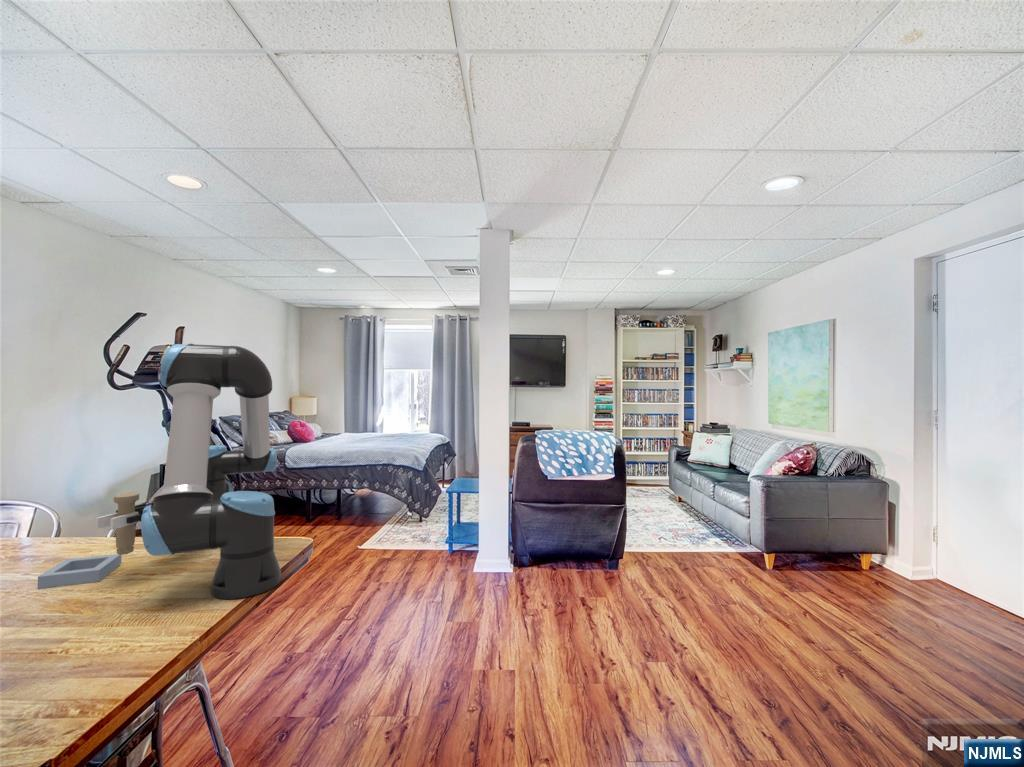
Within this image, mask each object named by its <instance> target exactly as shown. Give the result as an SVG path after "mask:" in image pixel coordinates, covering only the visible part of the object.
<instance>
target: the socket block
mask: <svg viewBox="0 0 1024 767" xmlns="http://www.w3.org/2000/svg"><path fill="white" fill-rule="evenodd" d="M120 564H121V565H122V555H120V554H117V553H116V554H107V555H98V556H87V557H79V558H78V557H77V558H68V559H66V558H65V560H63V561H62V562H60V563H58V564H56V565H55V566H53V567H52V568H50V569H48V570H47V571H45V572H43V573H42V574H40V575H38V576H37V590H42V589H47V588H49V589H50V588H56V587H57V588H59V587H65V586H66V585H67V586H74V585H83V584H91V583H97V582H98V583H99V582H101V581H102V580H103V579H104V578H106V577H107V576H109V575H110V574H111V573H112V572H114V571H115V570H116V569H117V568H119V567H120V566H121V565H120ZM119 565H120V566H119ZM118 566H119V567H118Z"/></svg>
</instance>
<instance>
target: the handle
mask: <svg viewBox="0 0 1024 767" xmlns="http://www.w3.org/2000/svg"><path fill="white" fill-rule="evenodd" d="M139 500H140V492H137V491H132V492H123V493H118V494H114V496H113V502H114V503H115V504H117V510H118V514H117V517H118V516H122V515H126V514H130V513H134V512H135V505H136V502H137V501H139ZM136 527H137V526H136V523H134V524H131V525H128V526H124V527H121V528H117V529H115V546H116V554H120V555H121V556H123V555H128V554H130V553H133V552H134V551H135V550H134V549H135V546H134V545H135V542H136V534H137V533H136V531H137V530H136Z"/></svg>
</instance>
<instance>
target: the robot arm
mask: <svg viewBox="0 0 1024 767" xmlns="http://www.w3.org/2000/svg"><path fill="white" fill-rule="evenodd" d="M159 378H160V379H159V380H160V383H161V385H162V386H163V387H165V388H166V393H168V394H169V395H170V396H171V397H172V398H173V400H172V401H173V402H172V407H171V408H172V409H171V418H170V426H169V434H168V435H169V436H168V444H167V453H166V461H165V470H164V479H163V487H162V489H161V491H159V492H158V493H157V494H155V496H154V497H153V502H150V503H149V501H145V502H142V503H139V504H135V512H134V513H130V514H126V515H122V516H118V517H117V514H118V509H117V510H115V512H114V513H109V514H106V515H102V516H97V517H95V520H94V529H95V530H100V529H104V528H107V527H109V529H110V531H113V530H116V529H117V528H121V527H124V526H128V525H131V524H134V523H135V524H136V523H139V522H140V529H141V538H142V543H143V547H144V548H145V550H146V552H147V553H148V554H149V555H151V556H155V557H156V556H157V557H158V556H159V557H160V556H169V555H171V556H175V555H176V554H184V553H194V552H200V551H202V552H203V551H206V550H214V549H215V550H216V549H219V562H218V564H217V566H216V570H215V572H214V574H213V578H212V580H211V583H210V594H211V595H212V597H214V598H216V599H221V600H222V599H224V600H233V599H234V600H235V599H236V600H237V599H243V598H248V597H252V596H253V597H254V596H256V595H260V594H262V593H265V592H267V591H269V590H271V589H273V588H275V587H276V586H277V585H278V584H280V582H281V580H282V570H281V567H280V565H279V561H278V559H277V556H276V554H275V553H276V552H275V549H274V548H275V546H274V544H275V543H274V542H275V540H274V539H275V535H274V534H275V515H276V511H275V502H274V501H275V500H274V498H273V496H272V495H270V494H268V493H265V492H262V491H255V490H254V491H253V490H235V489H234V487H233V484H232V483H231V482H230V481H229V480H227V475H235V474H238V475H239V474H252V473H253V474H255V473H266V472H267V473H268V472H274V471H275V470H276V469H277V464H278V463H277V462H278V456H277V455H278V451H277V449H275V448H271V443H270V442H271V438H270V437H271V436H270V405H269V403H270V401H269V400H270V398H269V395H271V393H272V391H273V379H272V376H271V372H270V370H269V369H268V367H267V365H266V364H265V362H264V361H263V360H262V359H261V358H260V357H259V356H258V355H257V354H255V352H253V351H250V350H249V349H247V348H245V347H241V346H238V345H215V344H214V345H213V344H211V345H210V344H194V343H185V344H184V343H178V344H177V343H176V344H173V345H172V344H171V346H169V347H168V348H167V349H166V350H165V352H164V354H163V357H162V360H161V364H160V374H159ZM222 388H234V392H235V393H236V395H237V396H239V409H240V421H241V433H242V445H243V446H242V447H243V450H242V449H241V450H228V449H227V448H228V447H227V446H226V445H225V444H224V445H222V444H219V445H217V444H215V445H210V444H211V432H212V422H213V419H212V418H213V407H214V399H216V398H217V397H219V396H220V395H221V392H222V390H221V389H222ZM234 490H235V491H234Z"/></svg>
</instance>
